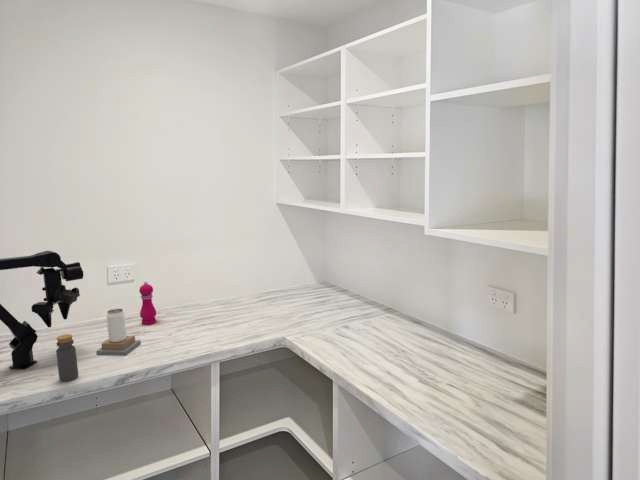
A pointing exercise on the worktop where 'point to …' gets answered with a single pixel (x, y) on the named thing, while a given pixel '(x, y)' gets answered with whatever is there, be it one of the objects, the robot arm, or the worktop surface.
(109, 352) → the plinth
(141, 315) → the pepper mill
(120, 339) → the can
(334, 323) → the worktop surface
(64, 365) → the bottle
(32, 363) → the robot arm
